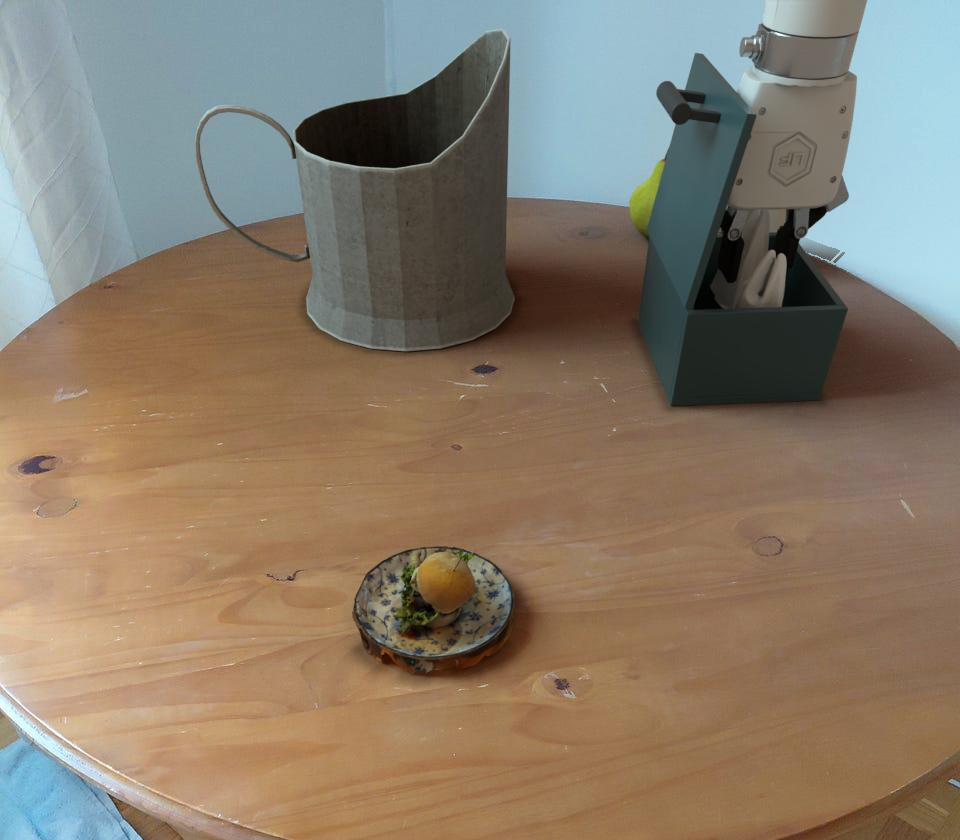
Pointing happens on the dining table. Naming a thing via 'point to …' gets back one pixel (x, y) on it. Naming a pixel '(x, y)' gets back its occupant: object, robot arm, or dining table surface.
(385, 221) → the pitcher
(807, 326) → the chest
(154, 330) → the dining table surface
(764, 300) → the shaker set
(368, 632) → the burger
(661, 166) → the fruit
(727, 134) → the lid
